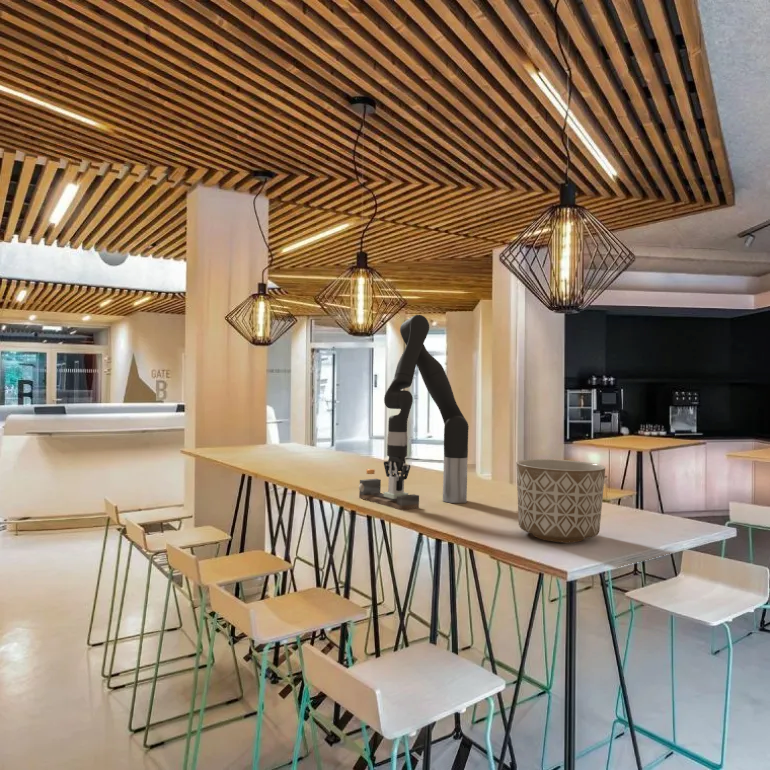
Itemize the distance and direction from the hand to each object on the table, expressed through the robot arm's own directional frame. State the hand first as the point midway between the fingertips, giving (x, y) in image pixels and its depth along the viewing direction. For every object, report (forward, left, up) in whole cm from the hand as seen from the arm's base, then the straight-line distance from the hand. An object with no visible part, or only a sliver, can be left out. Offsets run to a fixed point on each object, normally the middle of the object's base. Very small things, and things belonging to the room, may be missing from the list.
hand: (396, 489), depth 233 cm
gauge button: (+12, -12, +4) cm, 17 cm away
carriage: (0, 0, -3) cm, 3 cm away
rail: (+4, -3, -6) cm, 7 cm away
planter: (-54, +35, -6) cm, 65 cm away
